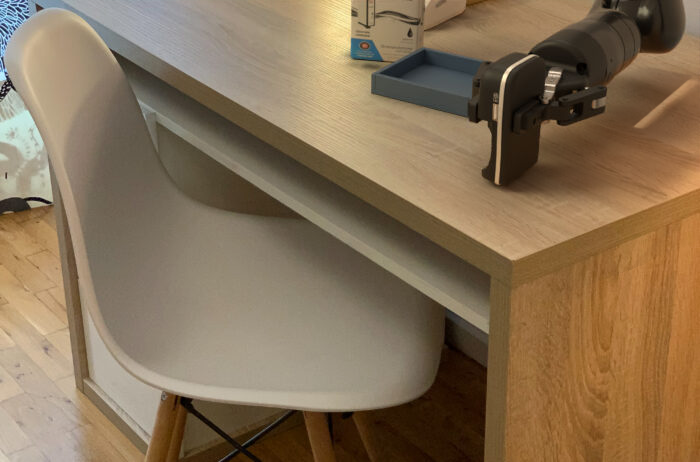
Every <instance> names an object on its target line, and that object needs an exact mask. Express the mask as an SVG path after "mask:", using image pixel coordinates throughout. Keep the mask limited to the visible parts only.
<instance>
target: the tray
mask: <svg viewBox="0 0 700 462" xmlns="http://www.w3.org/2000/svg"><path fill="white" fill-rule="evenodd" d="M483 61H486V60H484V59H479V58H476V57H471V56H467V55H462V54H457V53H453V52H448V51H444V50H440V49H435V48H431V47H426V46H423V47H422V48H420V49H418V50H416V51H414V52H412V53H410V54H409V55H407V56H405V57H403V58H401V59H399V60H397V61H395V62H390V63H389V64H387V65H386V66H384V67H382V68H380V69H378V70H375V71H374V72H372V73H371V74H370V75H371V76H370V93H371V94H375V95H379V96H381V97H386V98H391V99H394V100H398V101H402V102H406V103H410V104H414V105H417V106H422V107H425V108H429V109H434V110H437V111H442V112H445V113H449V114H452V115H457V116H461V117H465V118H468V119H469V116H468V101H469V100H470V99H471V98H472V80H473V78H474V76H475V74H476V72H477V70H478V68H479V66H480V65H481V63H482V62H483ZM492 62H493V63H494V62H495V61H492Z"/></svg>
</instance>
